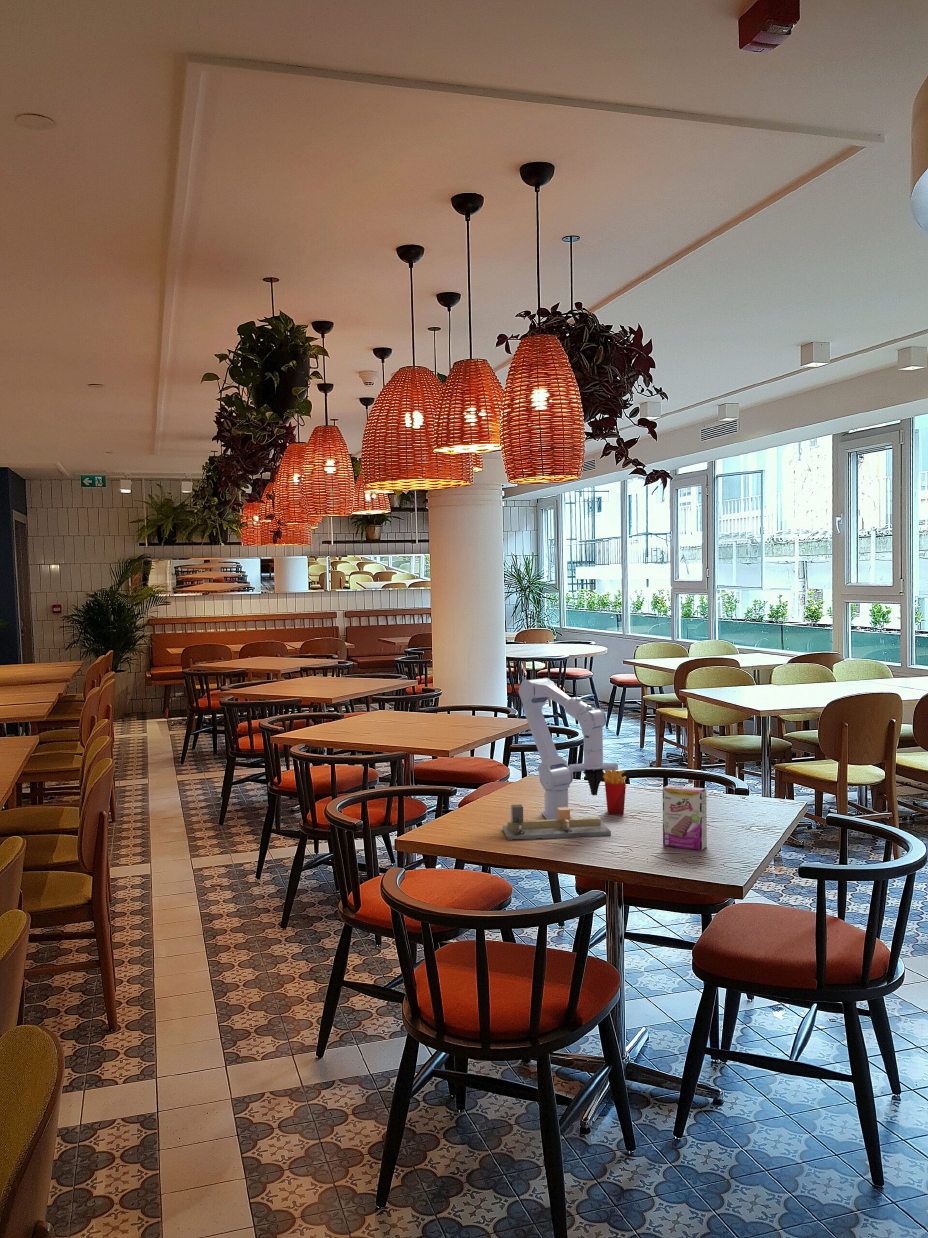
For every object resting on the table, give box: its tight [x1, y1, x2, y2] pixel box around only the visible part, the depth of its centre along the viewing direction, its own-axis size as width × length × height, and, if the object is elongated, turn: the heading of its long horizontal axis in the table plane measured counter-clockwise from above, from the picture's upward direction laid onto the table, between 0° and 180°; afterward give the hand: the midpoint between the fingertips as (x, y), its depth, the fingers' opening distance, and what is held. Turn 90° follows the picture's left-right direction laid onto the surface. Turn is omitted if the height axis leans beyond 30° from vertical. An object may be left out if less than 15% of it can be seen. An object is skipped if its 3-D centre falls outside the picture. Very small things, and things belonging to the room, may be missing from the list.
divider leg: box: [557, 806, 571, 830], centre depth 281 cm, size 8×3×5 cm, turn 5°
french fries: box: [602, 769, 627, 816], centre depth 301 cm, size 9×8×15 cm
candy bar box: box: [662, 784, 708, 851], centre depth 262 cm, size 11×5×16 cm, turn 59°
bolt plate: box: [502, 804, 612, 841], centre depth 280 cm, size 12×30×8 cm, turn 95°
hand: (594, 794), depth 287 cm, fingers closed
